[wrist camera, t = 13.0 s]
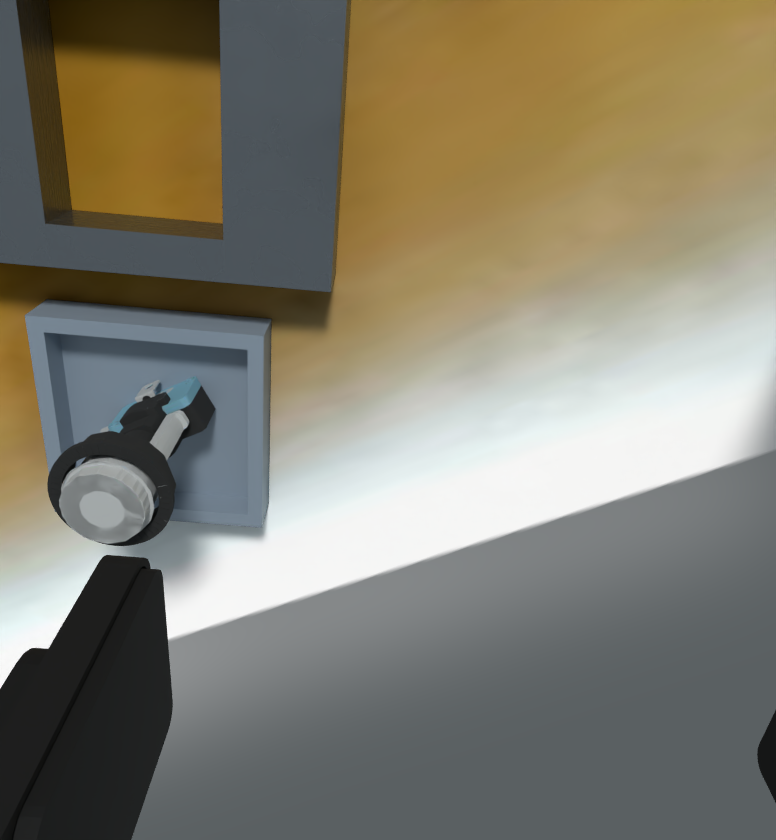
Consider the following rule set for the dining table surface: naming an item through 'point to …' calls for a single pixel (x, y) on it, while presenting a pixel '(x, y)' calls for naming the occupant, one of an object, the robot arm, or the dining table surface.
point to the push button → (129, 466)
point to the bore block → (241, 156)
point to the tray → (171, 364)
